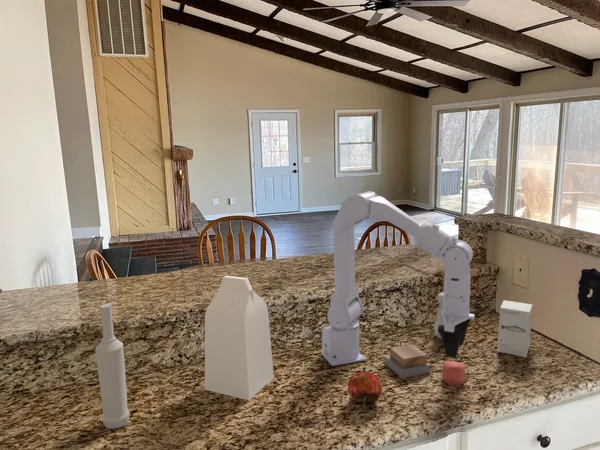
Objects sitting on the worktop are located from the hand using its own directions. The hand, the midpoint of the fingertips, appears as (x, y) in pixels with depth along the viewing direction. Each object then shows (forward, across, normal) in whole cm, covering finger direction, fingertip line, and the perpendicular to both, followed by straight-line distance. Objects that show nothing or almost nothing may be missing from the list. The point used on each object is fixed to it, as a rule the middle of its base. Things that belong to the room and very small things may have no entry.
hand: (454, 350), depth 107 cm
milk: (+8, -25, +44) cm, 51 cm away
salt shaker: (+8, +24, +8) cm, 27 cm away
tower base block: (+8, +1, +12) cm, 14 cm away
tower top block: (+6, +1, +11) cm, 13 cm away
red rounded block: (+8, 0, 0) cm, 8 cm away
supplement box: (+8, +24, -11) cm, 27 cm away
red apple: (+8, -19, +15) cm, 25 cm away
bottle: (+7, -50, +57) cm, 76 cm away
